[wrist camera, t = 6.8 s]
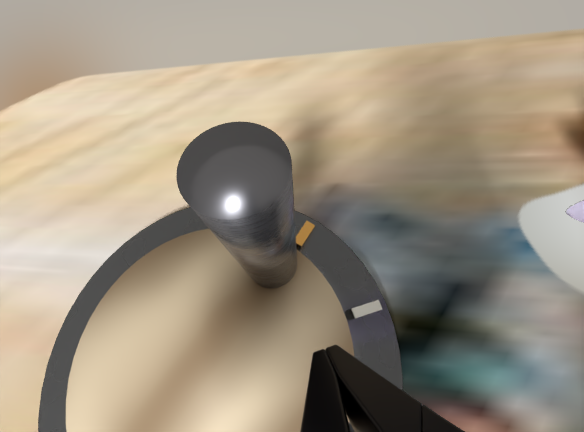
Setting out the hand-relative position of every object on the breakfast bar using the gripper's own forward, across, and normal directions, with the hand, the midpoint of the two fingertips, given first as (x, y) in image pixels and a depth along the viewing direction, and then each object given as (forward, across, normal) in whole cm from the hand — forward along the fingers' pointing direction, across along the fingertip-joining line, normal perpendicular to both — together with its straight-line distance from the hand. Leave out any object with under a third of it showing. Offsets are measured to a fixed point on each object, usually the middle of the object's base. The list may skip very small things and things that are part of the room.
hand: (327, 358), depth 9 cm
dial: (+6, -5, -4) cm, 9 cm away
